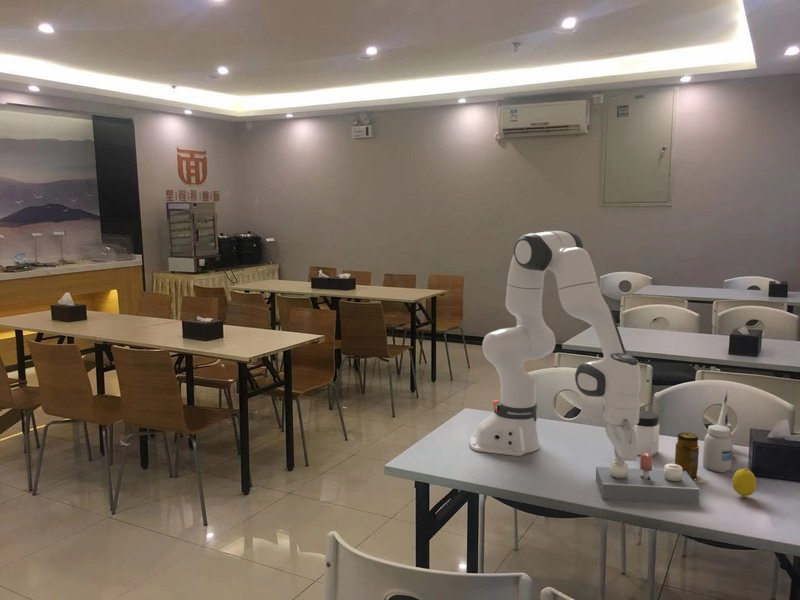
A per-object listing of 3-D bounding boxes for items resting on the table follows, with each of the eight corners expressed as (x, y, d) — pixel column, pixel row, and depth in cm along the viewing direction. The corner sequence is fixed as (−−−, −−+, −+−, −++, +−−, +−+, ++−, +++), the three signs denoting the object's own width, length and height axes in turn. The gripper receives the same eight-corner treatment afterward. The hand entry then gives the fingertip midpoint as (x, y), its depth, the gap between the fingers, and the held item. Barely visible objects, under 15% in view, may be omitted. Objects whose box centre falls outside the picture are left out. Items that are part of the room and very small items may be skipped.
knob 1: (611, 491, 172) (612, 466, 171) (608, 484, 176) (609, 460, 175) (628, 492, 171) (629, 467, 170) (624, 485, 176) (626, 460, 175)
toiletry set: (729, 475, 183) (734, 406, 180) (700, 469, 187) (705, 402, 184) (736, 447, 204) (741, 384, 201) (710, 442, 208) (714, 381, 205)
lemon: (728, 492, 172) (730, 463, 171) (749, 492, 172) (751, 464, 171) (736, 501, 167) (738, 472, 166) (758, 502, 166) (761, 473, 165)
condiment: (692, 470, 187) (694, 430, 185) (706, 482, 179) (708, 441, 177) (667, 470, 187) (669, 431, 185) (680, 482, 179) (682, 441, 177)
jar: (649, 458, 196) (651, 420, 194) (623, 451, 201) (625, 414, 200) (661, 450, 202) (663, 414, 200) (637, 444, 207) (638, 408, 206)
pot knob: (640, 485, 171) (642, 456, 170) (638, 480, 174) (639, 451, 173) (652, 485, 171) (653, 456, 170) (649, 480, 174) (651, 452, 173)
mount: (602, 499, 169) (603, 484, 168) (595, 479, 181) (596, 465, 180) (698, 504, 165) (699, 489, 165) (685, 484, 177) (685, 470, 177)
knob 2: (665, 494, 170) (667, 469, 169) (661, 487, 174) (662, 462, 173) (683, 495, 169) (684, 470, 168) (678, 488, 174) (679, 463, 173)
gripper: (644, 428, 160) (641, 480, 162) (624, 403, 180) (622, 450, 182) (618, 427, 161) (616, 479, 163) (601, 402, 181) (600, 449, 183)
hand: (619, 463), depth 173 cm, fingers closed, pressing on knob 1
